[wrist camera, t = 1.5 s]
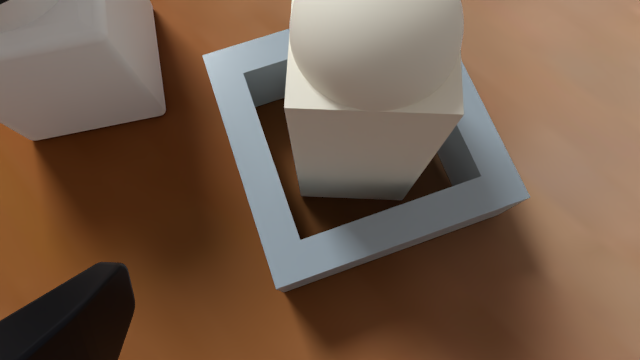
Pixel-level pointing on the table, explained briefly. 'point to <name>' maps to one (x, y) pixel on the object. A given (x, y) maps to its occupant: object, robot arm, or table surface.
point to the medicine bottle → (77, 65)
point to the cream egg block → (371, 92)
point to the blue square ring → (372, 231)
